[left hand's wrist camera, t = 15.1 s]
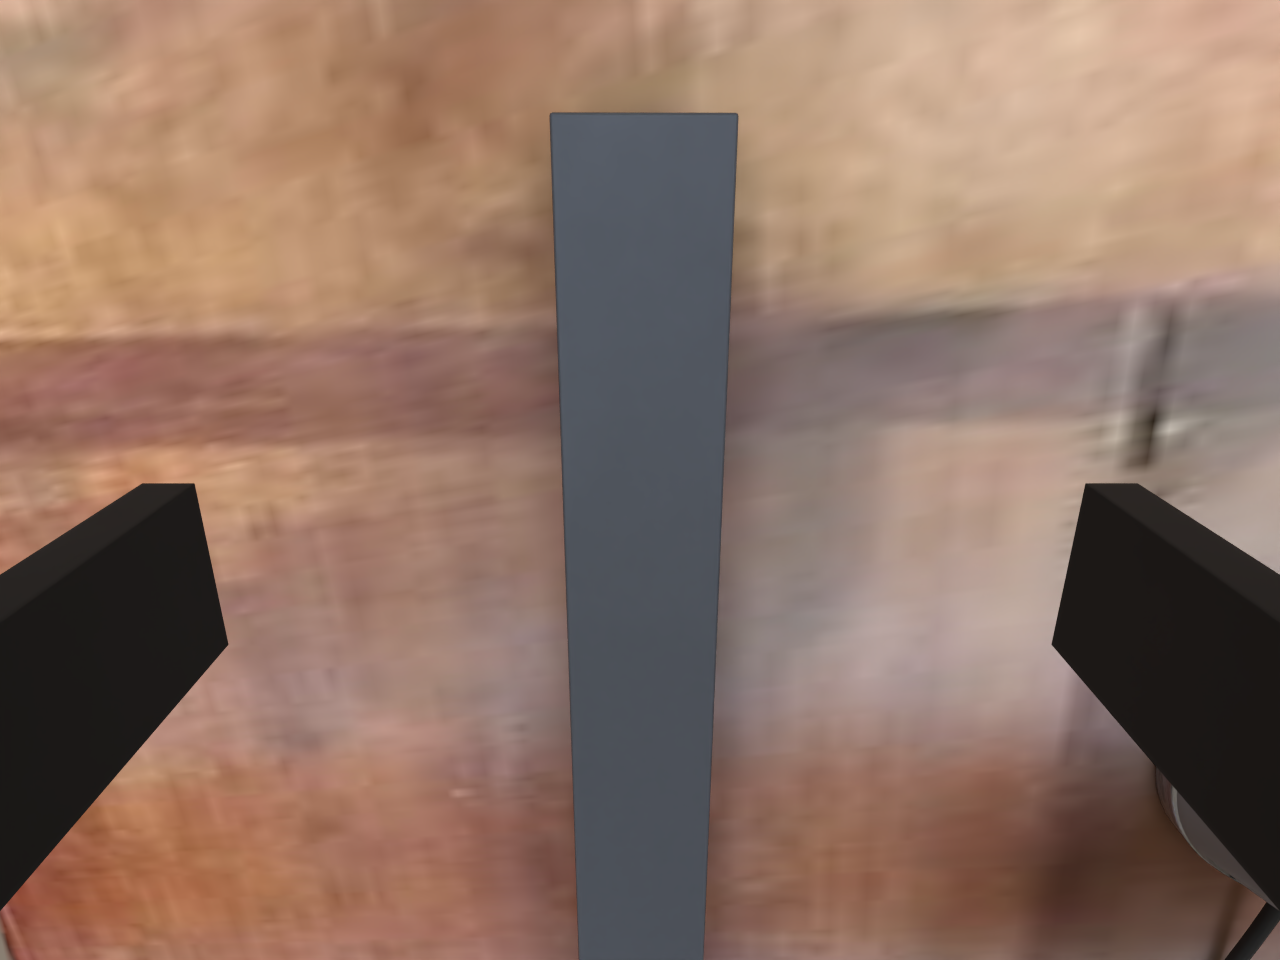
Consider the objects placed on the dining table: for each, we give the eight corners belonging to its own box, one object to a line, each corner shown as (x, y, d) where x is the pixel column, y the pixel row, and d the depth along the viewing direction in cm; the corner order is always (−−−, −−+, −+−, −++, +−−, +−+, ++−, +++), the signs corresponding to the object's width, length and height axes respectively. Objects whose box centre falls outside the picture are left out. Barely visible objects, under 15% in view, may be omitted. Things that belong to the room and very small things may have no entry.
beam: (569, 123, 31) (549, 112, 24) (717, 123, 31) (738, 112, 24) (600, 1263, 58) (594, 1413, 51) (679, 1263, 58) (684, 1413, 51)
